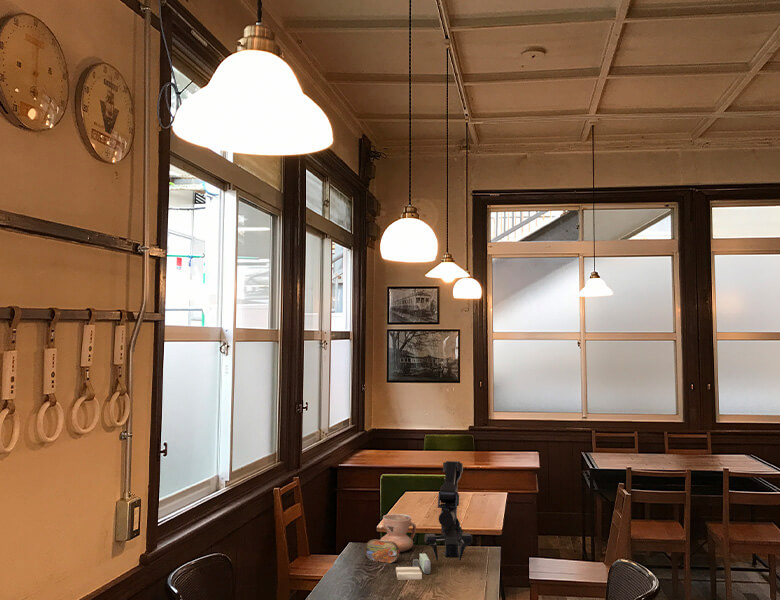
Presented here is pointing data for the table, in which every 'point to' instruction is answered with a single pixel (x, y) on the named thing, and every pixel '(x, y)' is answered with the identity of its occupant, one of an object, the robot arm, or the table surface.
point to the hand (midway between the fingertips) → (448, 560)
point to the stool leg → (425, 563)
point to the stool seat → (408, 573)
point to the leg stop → (415, 563)
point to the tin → (382, 551)
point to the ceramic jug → (398, 530)
